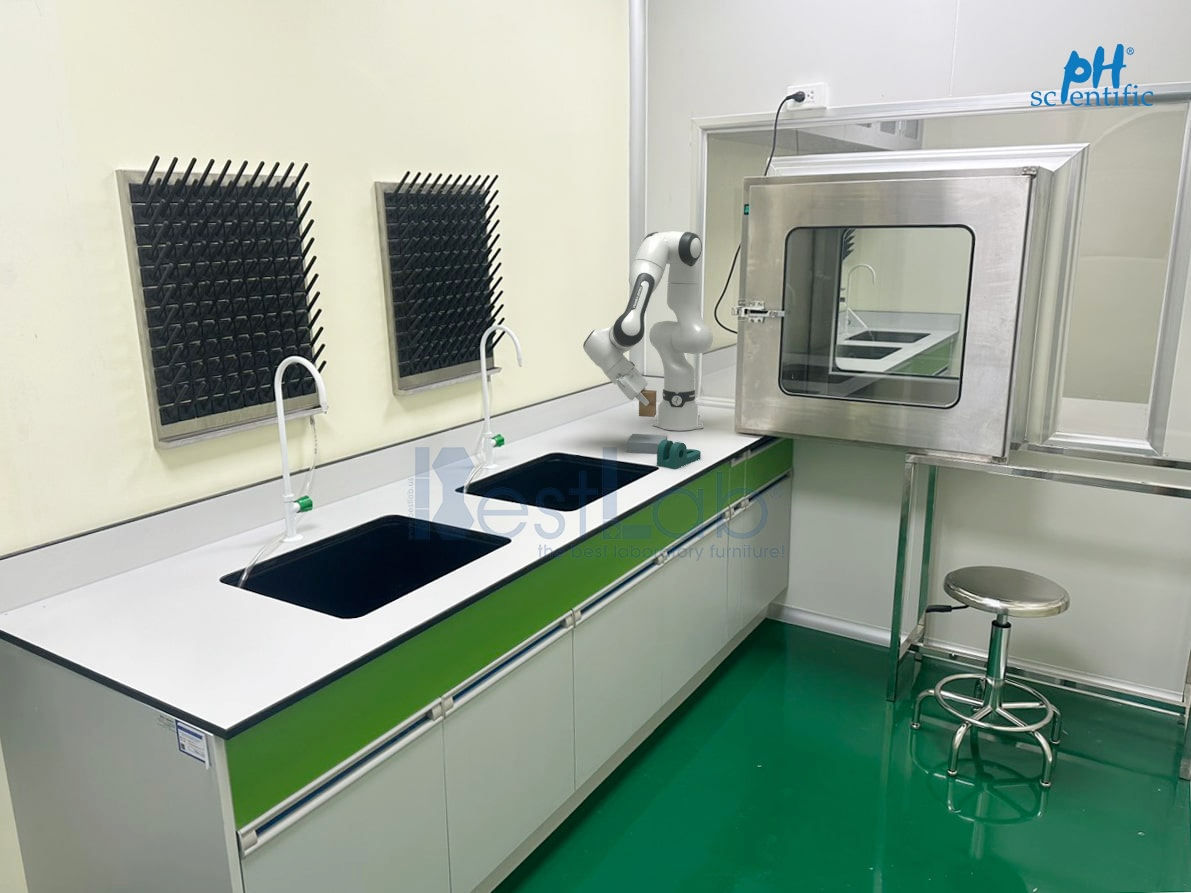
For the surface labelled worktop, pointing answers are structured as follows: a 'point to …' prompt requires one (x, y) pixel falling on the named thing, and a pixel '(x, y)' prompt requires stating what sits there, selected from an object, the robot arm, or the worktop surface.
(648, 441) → the slate base
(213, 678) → the worktop surface
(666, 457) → the bracket
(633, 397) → the robot arm
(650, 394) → the walnut block
